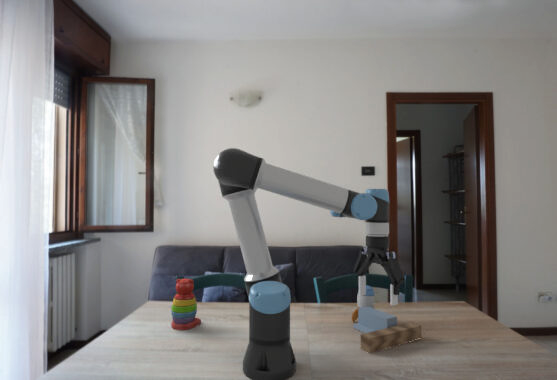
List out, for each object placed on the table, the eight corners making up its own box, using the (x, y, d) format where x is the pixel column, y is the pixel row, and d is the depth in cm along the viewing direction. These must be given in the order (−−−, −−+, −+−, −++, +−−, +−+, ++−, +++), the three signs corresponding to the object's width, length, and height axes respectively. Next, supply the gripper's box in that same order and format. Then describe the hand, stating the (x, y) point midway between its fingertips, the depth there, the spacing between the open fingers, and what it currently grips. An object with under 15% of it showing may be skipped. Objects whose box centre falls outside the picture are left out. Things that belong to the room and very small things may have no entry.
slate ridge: (381, 340, 122) (381, 320, 122) (353, 328, 134) (353, 309, 134) (401, 335, 127) (401, 315, 127) (372, 323, 139) (372, 305, 139)
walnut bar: (369, 354, 112) (369, 338, 112) (360, 350, 115) (360, 334, 115) (421, 340, 124) (421, 325, 124) (411, 336, 127) (411, 322, 127)
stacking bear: (202, 321, 140) (202, 276, 141) (193, 331, 130) (194, 281, 131) (175, 320, 141) (176, 275, 142) (165, 329, 131) (165, 281, 132)
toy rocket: (383, 327, 139) (381, 291, 136) (357, 333, 137) (355, 296, 134) (370, 314, 149) (368, 280, 146) (346, 319, 146) (344, 285, 144)
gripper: (417, 238, 110) (417, 307, 110) (358, 231, 131) (358, 289, 131) (401, 239, 106) (401, 311, 106) (343, 232, 127) (342, 292, 127)
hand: (377, 299), depth 118 cm, fingers open, 13 cm apart
